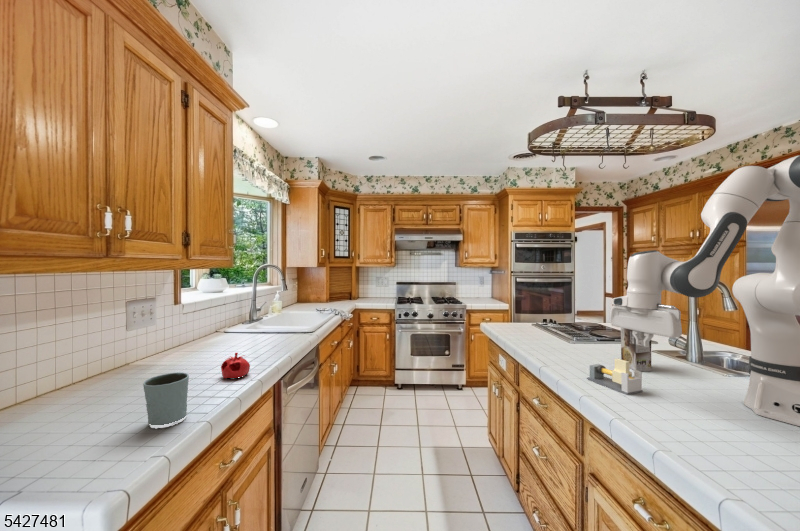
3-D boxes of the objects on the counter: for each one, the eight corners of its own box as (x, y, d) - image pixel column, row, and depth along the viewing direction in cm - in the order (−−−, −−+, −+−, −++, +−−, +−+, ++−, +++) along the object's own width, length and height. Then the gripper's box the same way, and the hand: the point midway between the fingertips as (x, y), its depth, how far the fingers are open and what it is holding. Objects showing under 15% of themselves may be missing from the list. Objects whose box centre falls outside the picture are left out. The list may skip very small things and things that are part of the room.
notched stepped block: (631, 383, 109) (631, 361, 109) (623, 385, 108) (623, 362, 108) (620, 379, 113) (620, 358, 113) (612, 381, 112) (612, 359, 112)
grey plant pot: (195, 412, 96) (195, 371, 96) (178, 429, 86) (178, 383, 86) (157, 415, 94) (156, 373, 94) (135, 433, 84) (134, 386, 84)
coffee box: (652, 371, 128) (652, 329, 128) (635, 371, 128) (635, 330, 128) (635, 364, 137) (635, 325, 137) (620, 364, 137) (620, 325, 137)
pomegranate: (234, 372, 132) (234, 349, 132) (255, 373, 130) (255, 350, 130) (214, 380, 123) (214, 355, 123) (236, 382, 120) (236, 356, 120)
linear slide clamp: (642, 391, 108) (642, 371, 108) (626, 394, 106) (626, 374, 106) (601, 377, 122) (601, 359, 122) (586, 379, 120) (586, 361, 120)
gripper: (687, 306, 95) (686, 353, 95) (620, 298, 114) (619, 338, 114) (672, 306, 93) (671, 355, 93) (606, 298, 112) (606, 339, 112)
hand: (642, 345), depth 104 cm, fingers closed
